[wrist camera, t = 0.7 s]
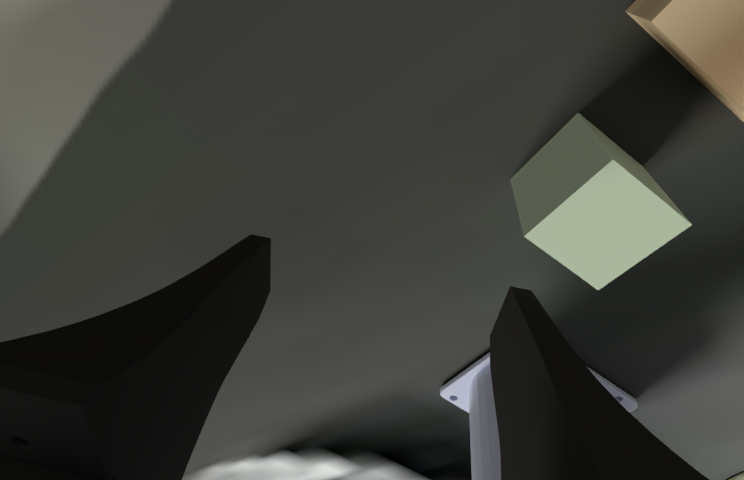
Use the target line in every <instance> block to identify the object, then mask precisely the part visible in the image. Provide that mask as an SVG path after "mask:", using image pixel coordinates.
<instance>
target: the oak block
mask: <svg viewBox="0 0 744 480" xmlns="http://www.w3.org/2000/svg"><path fill="white" fill-rule="evenodd" d="M625 12H626V13H627V14H628V15H630V16H631V17H632V18H633V19H634V20H635V21H636V22H637V23H638V24H639V25H640V26H641V27H642V28H643V29H645V30H646V31H647V32H648V33H649V34H650V35H651V36H652V37H653V38H654V39H655V40H656V41H657V42H658V43H659V44H661V45H662V46H663V47H664V48H665V49H666V50H667V51H668V52H669V53H670V54H671V55H672V56H673V57H674V58H675V59H677V60H678V61H679V62H680V63H681V64H682V65H683V66H684V67H685V68H686V69H687V70H688V71H689V72H690V73H691V74H693V75H694V76H695V77H696V78H697V79H698V80H699V81H700V82H701V83H702V84H703V85H704V86H705V87H706V88H707V89H709V90H710V91H711V92H712V93H713V94H714V95H715V96H716V97H717V98H718V99H719V100H720V101H721V102H722V103H723V104H725V105H726V106H727V107H728V108H729V109H730V110H731V111H732V112H733V113H734V114H735V115H736V116H737V117H738V118H739V119H741V120H742V121H743V122H744V0H635V1H634V2H633V4H632V5H631V6H630V7H629V8H628V9H627V10H626V11H625Z"/></svg>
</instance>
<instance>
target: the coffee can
mask: <svg viewBox="0 0 744 480" xmlns="http://www.w3.org/2000/svg"><path fill="white" fill-rule="evenodd" d="M728 480H744V472H743V473H741V474H738V475H736V476H734V477H732V478H730V479H728Z"/></svg>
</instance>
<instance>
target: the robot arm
mask: <svg viewBox="0 0 744 480" xmlns="http://www.w3.org/2000/svg"><path fill="white" fill-rule="evenodd" d="M270 249H271V238H266V237H261V236H256V235H249V236H248V237H246V238H245V239H243V240H242V241H240V242H239V243H237V244H236V245H234V246H233V247H231V248H230V249H228V250H227V251H225V252H224V253H222V254H221V255H219V256H217V257H216V258H214V259H213V260H211V261H210V262H208V263H207V264H205V265H203V266H202V267H200V268H199V269H197V270H195V271H193V272H192V273H190V274H188V275H186V276H185V277H183V278H181V279H179V280H178V281H176V282H174V283H172V284H170V285H169V286H167V287H165V288H163V289H161V290H159V291H157V292H155V293H152V294H150V295H148V296H146V297H144V298H142V299H139V300H137V301H135V302H132V303H130V304H127V305H125V306H122V307H119V308H117V309H114V310H112V311H109V312H107V313H104V314H101V315H99V316H96V317H93V318H90V319H87V320H84V321H81V322H78V323H74V324H71V325H68V326H64V327H61V328H57V329H54V330H50V331H47V332H43V333H39V334H34V335H30V336H26V337H22V338H18V339H14V340H10V341H5V342H0V480H181V479H182V477H183V474H184V472H185V469H186V467H187V464H188V462H189V459H190V457H191V454H192V451H193V449H194V447H195V444H196V442H197V439H198V437H199V435H200V432H201V430H202V427H203V425H204V423H205V420H206V418H207V416H208V413H209V411H210V409H211V407H212V404H213V402H214V400H215V398H216V395H217V393H218V391H219V389H220V387H221V385H222V383H223V381H224V379H225V377H226V376H227V374H228V372H229V370H230V369H231V367H232V365H233V363H234V362H235V360H236V358H237V356H238V355H239V353H240V351H241V349H242V348H243V346H244V344H245V342H246V341H247V339H248V337H249V335H250V333H251V332H252V330H253V328H254V326H255V325H256V323H257V321H258V319H259V317H260V315H261V312H262V310H263V307H264V305H265V302H266V300H267V297H268V295H269V292H270ZM440 395H441V396H442V397H443V398H444V399H446V400H448V401H450V402H451V403H453V404H455V405H456V406H458V407H460V408H461V409H463V410H465V411H466V412H468V413H469V417H470V443H471V469H472V480H709V479H708V478H706V477H705V476H703V475H702V474H701V473H699V472H698V471H697V470H695V469H694V468H693V467H692V466H690V465H689V464H688V463H687V462H685V461H684V460H683V459H682V458H680V457H679V456H678V455H677V454H675V453H674V452H673V451H672V450H670V449H669V448H668V447H667V446H666V445H665V444H663V443H662V442H661V441H660V440H659V439H658V438H656V437H655V436H654V435H653V434H652V433H651V432H650V431H649V430H648V429H646V428H645V427H644V426H643V425H642V424H641V423H640V422H639V421H638V420H637V419H636V418H634V417H633V416H632V415H631V414H630V412H632V411H634V410H636V409H637V407H638V403H637V401H636V399H635V398H633V397H632V396H630V395H629V394H627V393H626V392H624V391H623V390H621V389H620V388H618V387H617V386H615V385H614V384H612V383H611V382H609V381H608V380H606V379H605V378H603V377H602V376H600V375H599V374H597V373H596V372H594V371H593V370H592V369H590V368H589V367H587V366H586V365H585V364H584V363H583V362H582V360H581V359H580V358H579V357H578V355H577V354H576V353H575V352H574V350H573V349H572V348H571V346H570V345H569V344H568V342H567V341H566V340H565V338H564V337H563V336H562V334H561V333H560V331H559V330H558V329H557V327H556V326H555V324H554V323H553V321H552V320H551V319H550V317H549V316H548V314H547V313H546V311H545V310H544V308H543V307H542V305H541V304H540V302H539V301H538V299H537V298H536V297H535V295H534V294H533V292H532V291H531V290H526V289H521V288H516V287H511V286H510V288H509V291H508V293H507V296H506V298H505V301H504V303H503V305H502V308H501V310H500V313H499V315H498V318H497V320H496V323H495V325H494V328H493V330H492V332H491V335H490V352H489V353H488V354H486V355H485V356H484V357H482V358H481V359H480V360H478V361H477V362H475V363H474V364H473V365H471V366H470V367H468V368H467V369H466V370H464V371H463V372H462V373H460V374H459V375H457V376H456V377H455V378H453V379H452V380H450V381H449V382H448V383H446V384H445V385H444V386H442V387H441V388H440Z"/></svg>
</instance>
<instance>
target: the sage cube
mask: <svg viewBox="0 0 744 480" xmlns="http://www.w3.org/2000/svg"><path fill="white" fill-rule="evenodd" d="M510 181H511V185H512V189H513V193H514V197H515V201H516V205H517V210H518V214H519V218H520V222H521V226H522V230H523V234H524V237H526V238H527V239H528V240H530V241H531V242H532V243H534V244H535V245H537V246H538V247H539V248H541V249H542V250H543V251H545V252H546V253H548V254H549V255H550V256H552V257H553V258H554V259H556V260H557V261H559V262H560V263H561V264H563V265H564V266H565V267H567V268H568V269H569V270H571V271H572V272H574V273H575V274H576V275H578V276H579V277H580V278H582V279H583V280H585V281H586V282H587V283H589V284H590V285H591V286H593V287H594V288H596V289H597V290H600V289H601V288H602V287H604V286H605V285H607V284H608V283H610V282H611V281H612V280H614V279H615V278H617V277H618V276H620V275H621V274H623V273H624V272H625V271H627V270H628V269H630V268H631V267H633V266H634V265H635V264H637V263H638V262H640V261H641V260H643V259H644V258H645V257H647V256H648V255H650V254H651V253H653V252H654V251H656V250H657V249H658V248H660V247H661V246H663V245H664V244H666V243H667V242H668V241H670V240H671V239H673V238H674V237H676V236H677V235H678V234H680V233H681V232H683V231H684V230H686V229H687V228H688V227H690V226H691V225H692V224H691V223H690V222H689V220H688V219H687V218H686V217H685V216H684V215H683V213H682V212H681V211H680V210H679V209H678V207H677V206H676V205H675V204H674V203H673V202H672V200H671V199H670V198H669V197H668V196H667V194H666V193H665V192H664V191H663V190H662V189H661V187H660V186H659V185H658V184H657V183H656V181H655V180H654V179H653V178H652V177H651V176H650V174H649V173H648V172H647V171H646V170H645V169H644V167H643V166H642V165H640V164H639V163H638V162H637V161H636V160H634V159H633V158H632V157H631V156H630V155H629V154H627V153H626V152H625V151H624V150H623V149H621V148H620V147H619V146H618V145H617V144H615V143H614V142H613V141H612V140H611V139H609V138H608V137H607V136H606V135H605V134H603V133H602V132H601V131H600V130H599V129H597V128H596V127H595V126H594V125H593V124H592V123H590V122H589V121H588V120H587V119H586V118H584V117H583V116H582V115H581V114H580V113H577V114H576V115H575V116H574V117H573V118H572V119H571V120H570V121H569V122H568V123H567V124H566V125H565V126H564V127H563V128H562V129H561V130H560V131H559V132H558V133H557V134H556V135H555V136H554V137H553V138H552V139H551V140H550V141H549V142H548V143H547V144H546V145H545V146H544V147H543V148H542V149H540V150H539V151H538V152H537V153H536V154H535V155H534V156H533V157H532V158H531V159H530V160H529V161H528V162H527V163H526V164H525V165H524V166H523V167H522V168H521V169H520V170H519V171H518V172H517V173H516V174H515V175H514V176H513V177H512V178H511V179H510Z"/></svg>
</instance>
